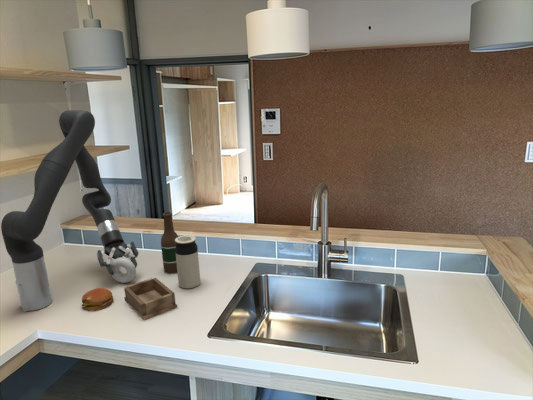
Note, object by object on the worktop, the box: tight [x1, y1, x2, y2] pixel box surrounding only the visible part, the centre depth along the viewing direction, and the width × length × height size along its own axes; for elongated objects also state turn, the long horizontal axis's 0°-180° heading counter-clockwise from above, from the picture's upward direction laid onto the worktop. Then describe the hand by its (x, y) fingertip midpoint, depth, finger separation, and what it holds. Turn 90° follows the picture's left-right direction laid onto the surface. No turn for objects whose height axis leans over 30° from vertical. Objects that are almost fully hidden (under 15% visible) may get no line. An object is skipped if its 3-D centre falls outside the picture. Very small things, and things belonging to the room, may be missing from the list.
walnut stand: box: [123, 277, 178, 321], centre depth 138 cm, size 12×17×5 cm
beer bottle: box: [160, 211, 179, 275], centre depth 161 cm, size 8×8×24 cm
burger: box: [81, 287, 115, 312], centre depth 139 cm, size 10×9×5 cm
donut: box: [110, 257, 137, 284], centre depth 153 cm, size 10×4×10 cm, turn 82°
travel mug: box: [175, 234, 201, 289], centre depth 149 cm, size 8×8×18 cm
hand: (124, 271), depth 152 cm, fingers open, 8 cm apart
